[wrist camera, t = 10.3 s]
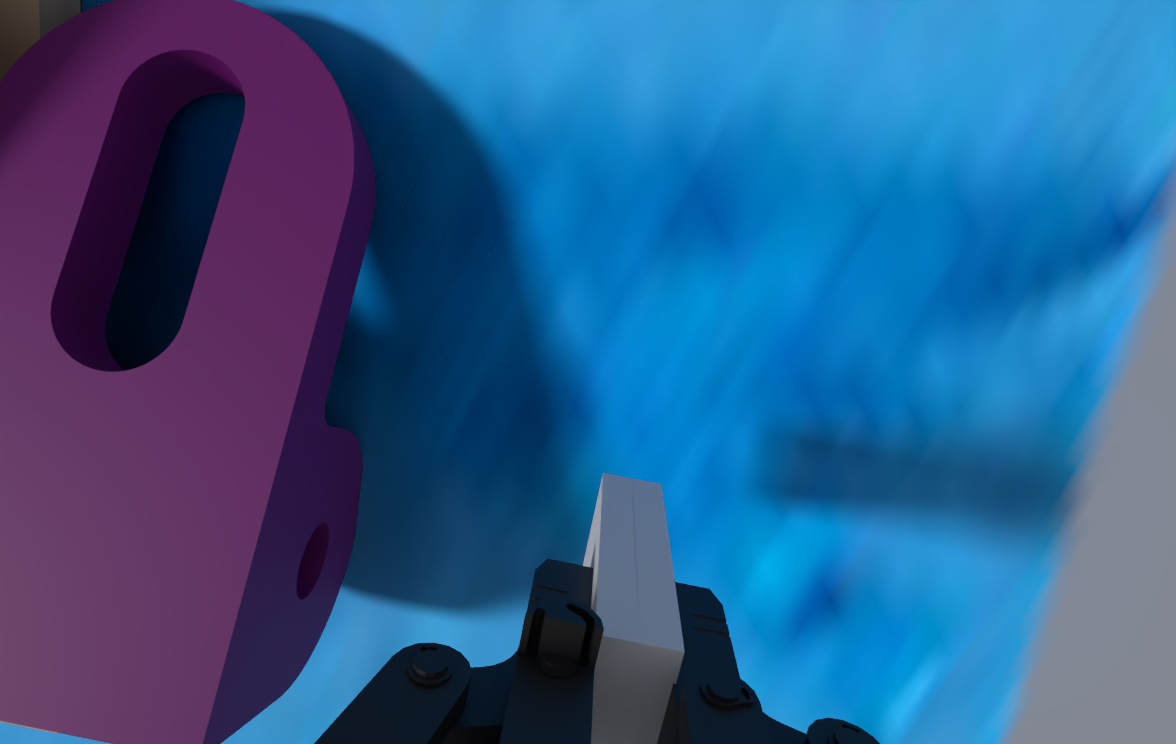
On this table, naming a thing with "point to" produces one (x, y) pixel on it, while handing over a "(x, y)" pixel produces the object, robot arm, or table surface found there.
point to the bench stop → (29, 39)
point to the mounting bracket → (172, 380)
